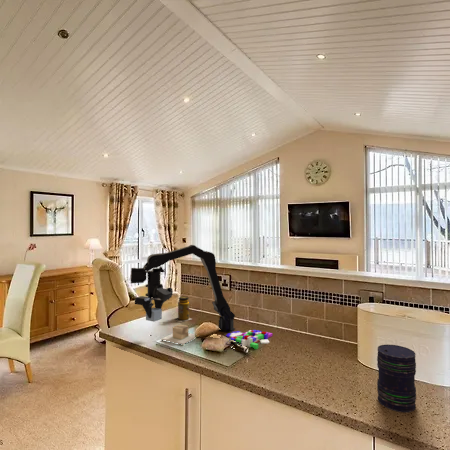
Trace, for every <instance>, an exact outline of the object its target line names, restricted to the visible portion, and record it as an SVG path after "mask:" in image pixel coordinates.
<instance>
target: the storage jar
mask: <svg viewBox="0 0 450 450" xmlns="http://www.w3.org/2000/svg"><path fill="white" fill-rule="evenodd" d="M376 357H377V358H376V361H377V363H376V367H377V368H378V378H377V382H376V385H377V386H376V389H377V401H378V403H379V404H380V405H381V406H383V407H384V408H385V409H388V410H391V411H394V412H398V413H412V412H414V411H415V410H416V408H417V407H416V401H417V400H416V399H417V388H416V385H415V383H416V382H415V378H416V377H415V376H416V373H417V362H416V352H415V351H414V350H412V349H410V348H409V347H406V346H402V345H397V344H382V345H378V346H377V356H376Z"/></svg>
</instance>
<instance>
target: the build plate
mask: <svg viewBox="0 0 450 450" xmlns="http://www.w3.org/2000/svg"><path fill="white" fill-rule="evenodd" d="M194 338H195V336H194V333H191V332H188V336H187V337H186V338H184V339H177V338H173V333H171V334H168V335H166V336H165V337H164V336H163V337H161V338H160V339H161V340H166V341H170V342H174V343H178V344H182V345H184V344H185V343H187V342H189V341H191V340H193V339H194ZM193 341H194V340H193ZM191 342H192V341H191ZM189 343H190V342H189ZM184 346H185V345H184Z"/></svg>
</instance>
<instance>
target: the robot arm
mask: <svg viewBox="0 0 450 450" xmlns="http://www.w3.org/2000/svg"><path fill="white" fill-rule="evenodd" d="M189 255H194V256H196V257H197V258H199V259H200V262H201V263H202V266H203V267H204V269H205V270H206V272H207V276H208V280H209V283H210V287H211V290H212V293H213V295H214V301H211V303H212V305H213V311H215V312H216V313H217V314H218V315H219V319H218V329H219V328H220V329H221V331H220V332H223V333H227V334H228V333H232V332H234V330H236V327H235V325H234V320H235V317H236V314H235V313H234V312H233V311H232V310H231V307H230V305H229V303H228V302H227V300H226V298H225V296H224V293H223V290H222V287H221V283H220V279H219V276H218V273H217V269H216V265H217V263H216V256H215V254H214V253H213V252H211V251H207V250H203V249H201V248H200V247H198V246H197V245H194V244H190V245H187V246H184V247H181V248H177V249H175V250H171V251H168V252H162V253H152V254H150V255H148V257H147V259H146V263H145V264H144V265H143V266H142V267H131V268H130V284H144V282H145V281H147V284H145V288H147V293H145V296H144V295H142V296H138V297H137V296H136V297H135V299H134V305H138V306H141V307H143V310H144V311H145V314H146V313H147V316H148V318H151V313H152V308H153V306H154V308H159V309H162V308H163V305H164V303H165V302H167V301H169V300H170V299H171V298H172V297H173V292H174V291H173V288H172V287H167V288H164V285H163V284H162V283H161V273H165V272H166V271H165V269H164V268H163V267H162V266H163V265H165V264H166V263H168V262H170V261H173V260H176V259H180V258H183V257H186V256H189Z"/></svg>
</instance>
